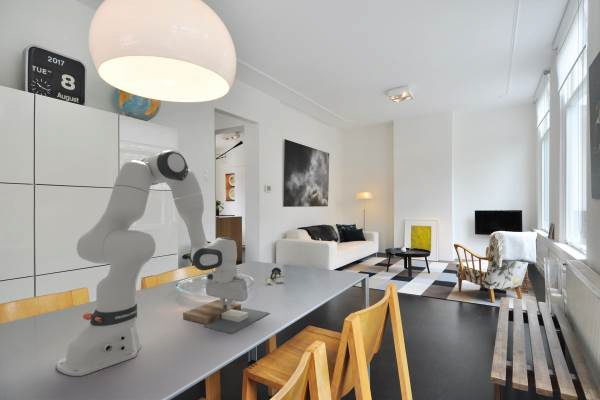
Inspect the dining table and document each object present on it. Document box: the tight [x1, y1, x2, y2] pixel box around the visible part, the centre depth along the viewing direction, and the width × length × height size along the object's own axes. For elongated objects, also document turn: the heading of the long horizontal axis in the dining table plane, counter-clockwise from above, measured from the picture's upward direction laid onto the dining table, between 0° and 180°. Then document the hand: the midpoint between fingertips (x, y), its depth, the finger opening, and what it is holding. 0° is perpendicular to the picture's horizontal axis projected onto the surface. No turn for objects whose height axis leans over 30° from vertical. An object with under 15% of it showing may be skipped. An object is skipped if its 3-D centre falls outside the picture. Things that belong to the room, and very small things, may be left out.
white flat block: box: [222, 309, 248, 322], centre depth 130 cm, size 6×9×2 cm, turn 61°
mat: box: [203, 307, 270, 335], centre depth 129 cm, size 24×14×1 cm, turn 151°
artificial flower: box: [264, 267, 282, 287], centre depth 193 cm, size 9×22×10 cm, turn 170°
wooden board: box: [182, 299, 242, 326], centre depth 136 cm, size 20×14×2 cm
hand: (226, 308), depth 132 cm, fingers closed
